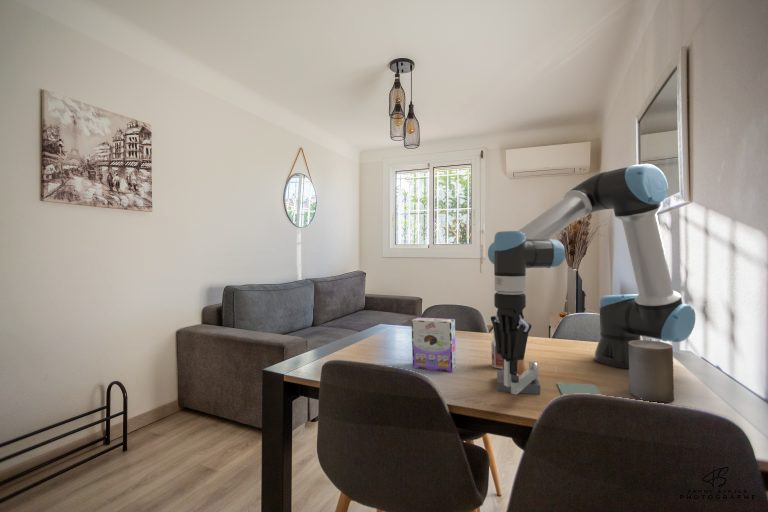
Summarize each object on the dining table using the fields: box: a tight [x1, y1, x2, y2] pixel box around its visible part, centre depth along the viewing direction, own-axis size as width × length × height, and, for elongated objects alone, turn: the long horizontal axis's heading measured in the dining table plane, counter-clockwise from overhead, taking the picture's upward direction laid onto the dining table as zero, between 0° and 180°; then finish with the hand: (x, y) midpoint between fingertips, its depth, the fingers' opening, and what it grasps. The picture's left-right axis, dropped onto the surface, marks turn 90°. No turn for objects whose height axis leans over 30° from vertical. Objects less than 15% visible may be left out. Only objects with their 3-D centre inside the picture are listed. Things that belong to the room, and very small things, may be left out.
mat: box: [556, 382, 602, 395], centre depth 104 cm, size 10×10×1 cm
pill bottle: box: [490, 333, 503, 370], centre depth 127 cm, size 6×6×11 cm
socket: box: [496, 369, 541, 395], centre depth 109 cm, size 11×11×2 cm
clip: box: [510, 361, 539, 395], centre depth 99 cm, size 16×2×6 cm, turn 141°
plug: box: [517, 357, 526, 375], centre depth 109 cm, size 7×7×12 cm
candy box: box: [410, 316, 457, 373], centre depth 127 cm, size 14×6×16 cm, turn 65°
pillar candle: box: [628, 338, 675, 403], centre depth 100 cm, size 10×10×15 cm
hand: (510, 385), depth 96 cm, fingers closed
